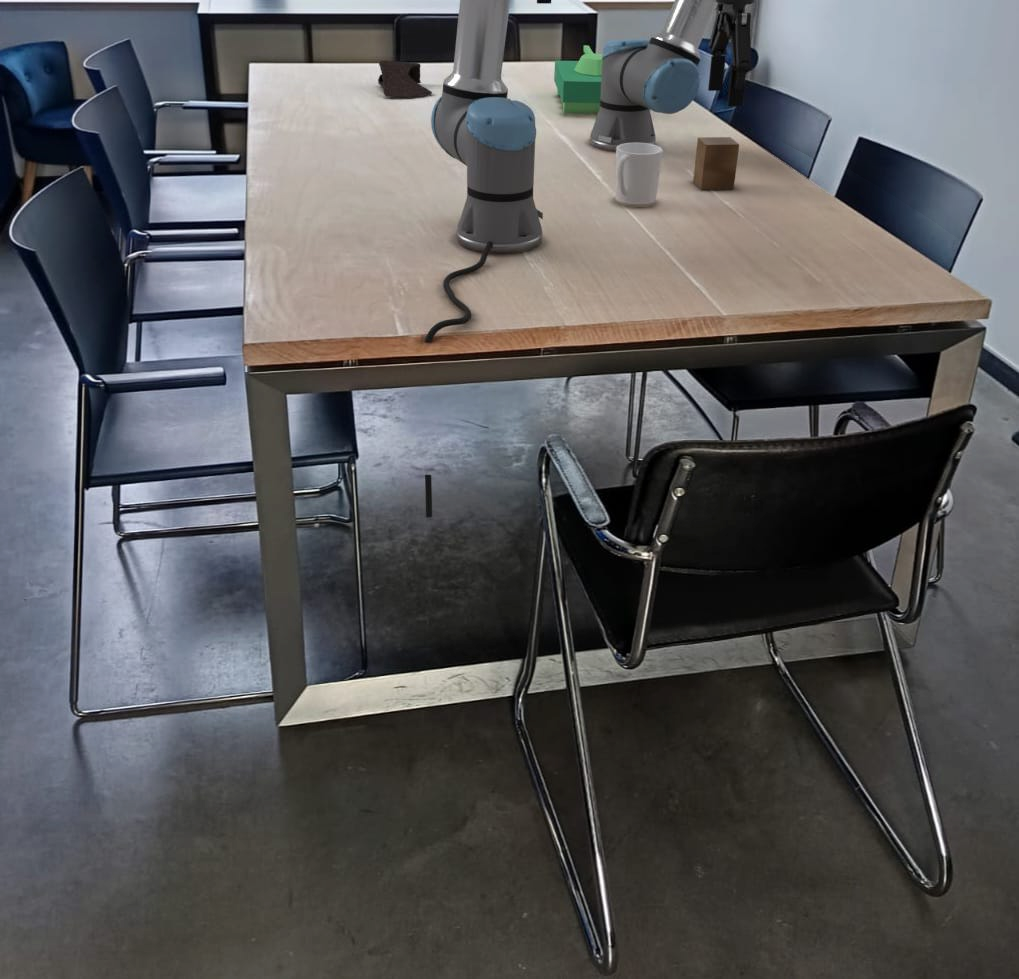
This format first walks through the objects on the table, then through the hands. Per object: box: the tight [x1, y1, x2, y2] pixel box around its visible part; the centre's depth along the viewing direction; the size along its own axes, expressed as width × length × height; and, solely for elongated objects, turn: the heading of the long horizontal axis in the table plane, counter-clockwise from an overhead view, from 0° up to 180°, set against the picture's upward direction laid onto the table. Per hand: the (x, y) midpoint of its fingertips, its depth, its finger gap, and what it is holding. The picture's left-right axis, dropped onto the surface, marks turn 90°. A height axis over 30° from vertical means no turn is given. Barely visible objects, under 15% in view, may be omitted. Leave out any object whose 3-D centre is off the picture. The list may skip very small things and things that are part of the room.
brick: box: [692, 136, 740, 191], centre depth 226 cm, size 7×6×9 cm
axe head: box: [377, 59, 433, 99], centre depth 299 cm, size 18×8×15 cm
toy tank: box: [553, 44, 603, 115], centre depth 290 cm, size 18×12×35 cm
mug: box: [614, 143, 664, 208], centre depth 214 cm, size 11×9×10 cm
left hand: (724, 98), depth 215 cm, fingers open, 13 cm apart
